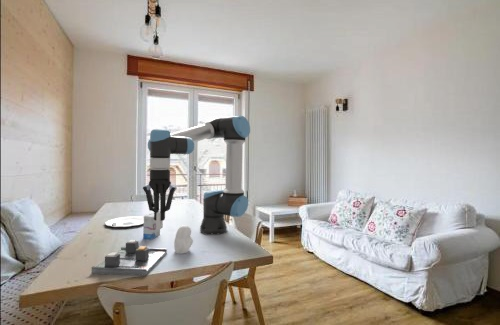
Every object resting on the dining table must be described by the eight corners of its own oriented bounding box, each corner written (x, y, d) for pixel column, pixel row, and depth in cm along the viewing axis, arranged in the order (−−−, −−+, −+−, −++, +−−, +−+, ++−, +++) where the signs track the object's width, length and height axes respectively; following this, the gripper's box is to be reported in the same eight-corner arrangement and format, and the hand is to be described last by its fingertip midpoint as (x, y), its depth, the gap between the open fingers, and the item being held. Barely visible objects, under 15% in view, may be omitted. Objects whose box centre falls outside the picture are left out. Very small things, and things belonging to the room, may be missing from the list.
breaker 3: (148, 257, 107) (148, 246, 107) (145, 260, 104) (145, 249, 104) (139, 257, 107) (139, 246, 107) (135, 260, 104) (135, 248, 104)
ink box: (151, 239, 134) (151, 216, 134) (142, 238, 135) (142, 215, 135) (160, 234, 143) (160, 213, 142) (152, 234, 144) (152, 212, 143)
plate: (154, 225, 161) (154, 222, 161) (108, 232, 146) (108, 228, 146) (144, 217, 181) (144, 214, 181) (102, 222, 167) (102, 219, 167)
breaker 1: (119, 264, 100) (119, 252, 100) (115, 268, 97) (115, 255, 97) (109, 264, 100) (109, 252, 100) (104, 267, 97) (104, 255, 97)
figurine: (182, 255, 114) (183, 228, 114) (170, 252, 118) (170, 225, 118) (194, 250, 120) (194, 224, 120) (182, 247, 124) (182, 222, 124)
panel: (166, 253, 116) (166, 248, 116) (145, 275, 95) (145, 269, 95) (122, 252, 117) (122, 247, 117) (91, 273, 96) (91, 267, 96)
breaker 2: (138, 250, 115) (138, 239, 115) (135, 252, 112) (135, 242, 112) (129, 249, 115) (129, 239, 115) (125, 252, 112) (125, 241, 112)
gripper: (179, 168, 108) (178, 226, 108) (147, 168, 108) (147, 225, 109) (173, 169, 100) (172, 231, 101) (139, 169, 101) (138, 230, 101)
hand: (159, 228), depth 105 cm, fingers closed
